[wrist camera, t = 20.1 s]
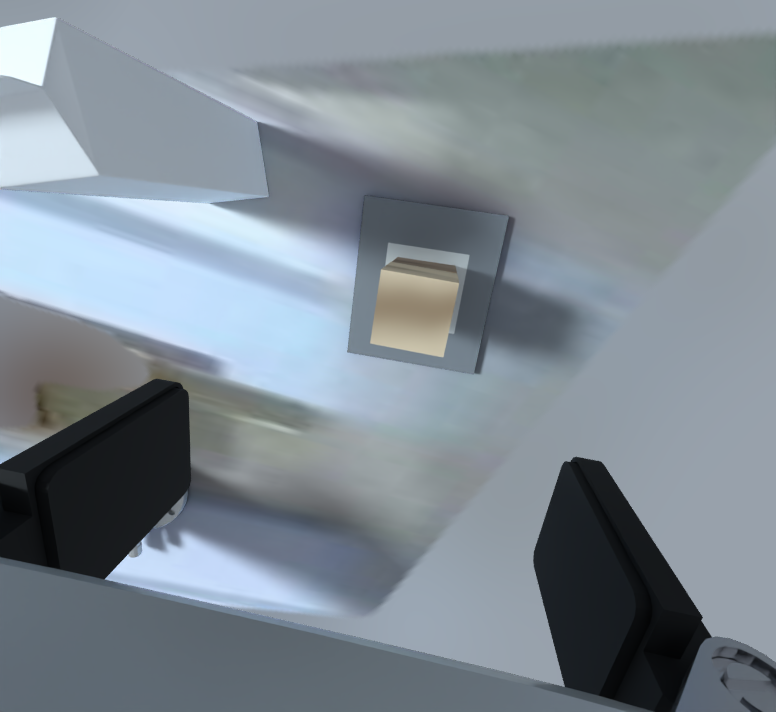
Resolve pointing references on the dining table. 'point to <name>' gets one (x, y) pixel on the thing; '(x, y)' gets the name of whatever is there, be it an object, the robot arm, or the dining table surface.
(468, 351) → the mat
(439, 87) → the dining table surface
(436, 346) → the oak block
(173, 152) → the milk
